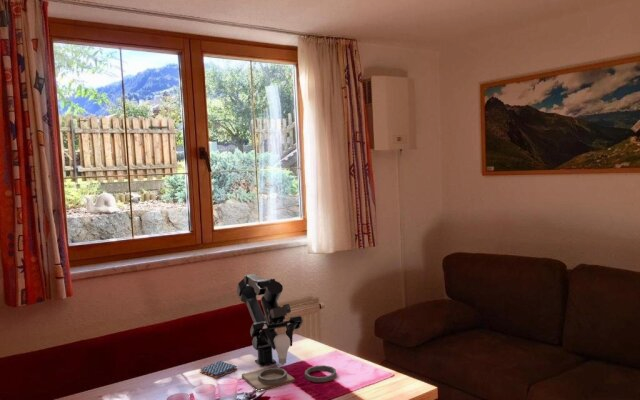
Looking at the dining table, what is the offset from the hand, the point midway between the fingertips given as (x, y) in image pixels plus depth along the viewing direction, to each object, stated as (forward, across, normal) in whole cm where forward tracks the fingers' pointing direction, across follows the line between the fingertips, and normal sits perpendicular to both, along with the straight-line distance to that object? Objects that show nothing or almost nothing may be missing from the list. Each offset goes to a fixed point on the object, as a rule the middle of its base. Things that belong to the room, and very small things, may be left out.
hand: (283, 347), depth 175 cm
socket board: (+5, -4, +12) cm, 14 cm away
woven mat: (-6, -18, +25) cm, 32 cm away
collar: (+10, +13, +8) cm, 18 cm away
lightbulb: (+4, 0, +6) cm, 7 cm away
